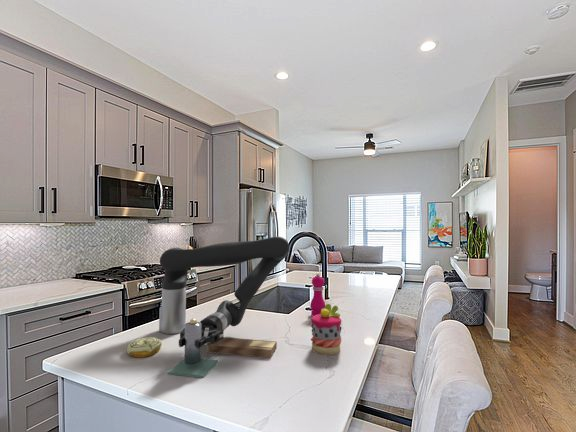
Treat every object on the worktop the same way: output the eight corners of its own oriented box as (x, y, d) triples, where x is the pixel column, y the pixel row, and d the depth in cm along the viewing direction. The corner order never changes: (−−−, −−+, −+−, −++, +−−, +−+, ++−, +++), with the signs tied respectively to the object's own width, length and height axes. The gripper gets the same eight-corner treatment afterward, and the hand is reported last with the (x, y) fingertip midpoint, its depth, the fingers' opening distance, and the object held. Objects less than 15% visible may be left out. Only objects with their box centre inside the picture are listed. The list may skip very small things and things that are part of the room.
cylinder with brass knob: (181, 363, 96) (181, 320, 97) (189, 357, 101) (189, 316, 101) (196, 365, 96) (197, 321, 96) (204, 358, 100) (204, 316, 100)
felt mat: (167, 374, 95) (167, 372, 95) (186, 358, 106) (186, 356, 106) (202, 377, 93) (203, 375, 93) (218, 361, 104) (218, 359, 104)
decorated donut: (121, 359, 106) (121, 347, 106) (134, 346, 116) (134, 336, 116) (155, 358, 106) (155, 346, 106) (165, 346, 117) (165, 335, 117)
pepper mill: (324, 317, 153) (324, 274, 154) (309, 316, 155) (309, 274, 155) (326, 313, 160) (326, 272, 161) (311, 312, 162) (311, 271, 162)
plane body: (207, 352, 111) (207, 344, 111) (217, 343, 119) (217, 336, 119) (271, 357, 107) (271, 349, 107) (276, 348, 115) (276, 340, 115)
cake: (339, 357, 108) (339, 311, 109) (307, 353, 111) (308, 308, 112) (343, 345, 118) (343, 303, 119) (314, 342, 121) (314, 301, 122)
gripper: (193, 313, 114) (166, 329, 97) (232, 316, 111) (212, 333, 95) (193, 335, 114) (166, 355, 97) (232, 338, 111) (211, 359, 94)
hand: (189, 344), depth 96 cm, fingers closed on cylinder with brass knob, 4 cm apart
